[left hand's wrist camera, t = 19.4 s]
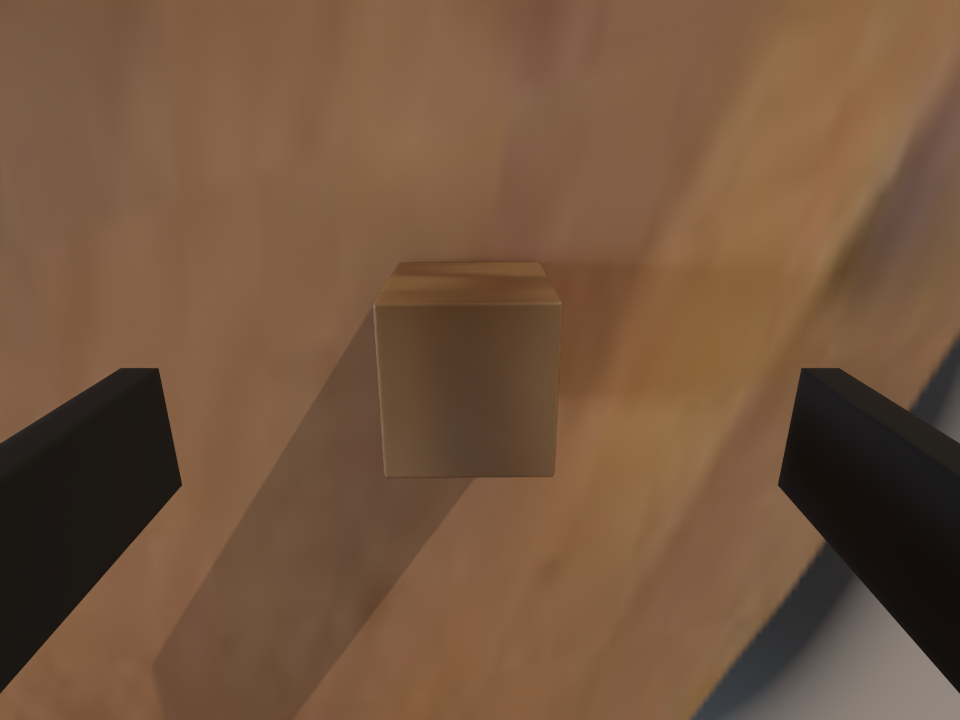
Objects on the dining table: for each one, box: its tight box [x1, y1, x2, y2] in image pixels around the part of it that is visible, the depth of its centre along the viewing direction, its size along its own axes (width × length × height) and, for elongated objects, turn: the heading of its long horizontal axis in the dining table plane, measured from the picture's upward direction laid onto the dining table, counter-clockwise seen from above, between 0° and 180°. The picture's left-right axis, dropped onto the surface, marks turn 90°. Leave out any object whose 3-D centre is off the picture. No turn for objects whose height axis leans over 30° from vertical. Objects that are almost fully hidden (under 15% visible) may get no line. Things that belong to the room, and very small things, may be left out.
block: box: [373, 262, 563, 478], centre depth 16 cm, size 4×4×5 cm
